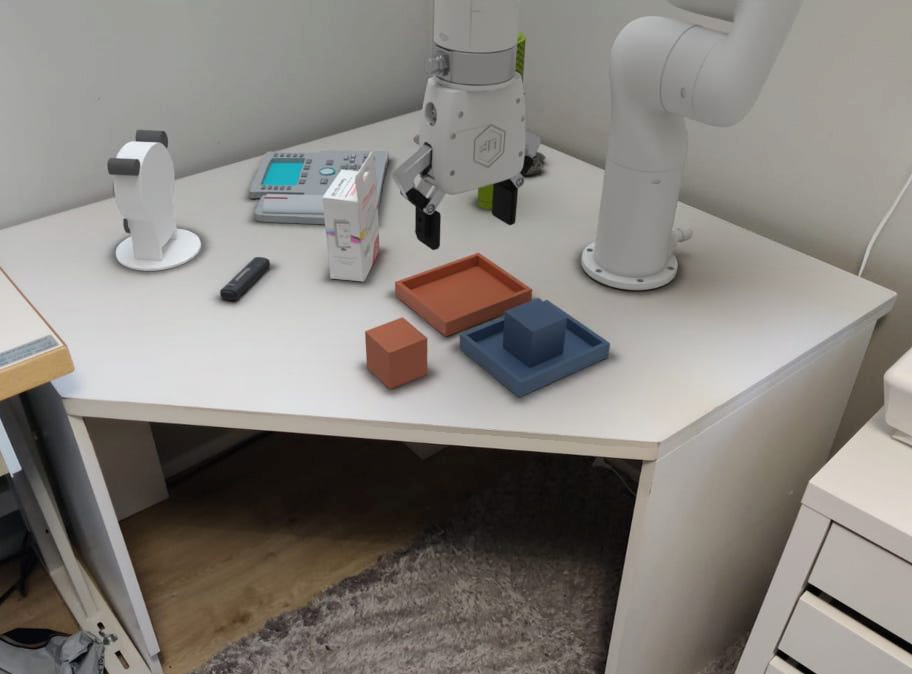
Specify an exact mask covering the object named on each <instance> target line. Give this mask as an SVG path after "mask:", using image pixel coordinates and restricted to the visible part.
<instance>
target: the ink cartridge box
mask: <svg viewBox="0 0 912 674" xmlns="http://www.w3.org/2000/svg"><path fill="white" fill-rule="evenodd" d="M367 169H368V172H365V170H367ZM322 200H323V208H324V218H325V224H324V228H325V237H326V246H327V247H326V248H327V257H328V266H329V278H330V279H332V280H333V279H334V280H343V281H351V282H352V281H353V282H365V281H366V280H367V277H368V275H369V273H370V271H371V269H372V267H373V265H374V264H375V261H376V259H377V257H378V254H379V252H380V249H381V247H380V227H379V225H380V224H379V207H378V202H377V179H376V170H375V163H374V156H373V152H371V153H370V154H369V156H368V157H367V159H366V160H365V162H364V163H363V165H362V166H361V168H360V170H359V171H351V170H341V171H340V172H339V174H338V175H337V177H336V178H335V180H334V181H333V183H332V184H331V186H330V187H329V188H328V190H327V191H326V193H325V194H324V196H323V197H322Z"/></svg>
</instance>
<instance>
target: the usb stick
mask: <svg viewBox="0 0 912 674" xmlns="http://www.w3.org/2000/svg"><path fill="white" fill-rule="evenodd" d="M270 266H271V263H270V260H269V258H267V257H263V256H255V257H253V258H252V259H251V260H250V261H249V263H247V264H246V265H245V266H244V267H243V268H242V269H241V270H240V271H239V272H238V273H237V274H236V275H234V277H232V279H230V280H229V282H228V283H226V284H225V285H224V286H223V287H222V288H221V289H219V290H220V291H219V295H220V297H221V298H222V299H224V300H230V301H235V300H237V299H238V298H240V297H241V295H242V294H243V293H244V292H246V290H248V288H249V287H250V286H252V284H254V282H255V281H257V280H258V279H259V277H260V276H262V275H263V274H264V272H266V271H267V270H268V269H269V267H270Z"/></svg>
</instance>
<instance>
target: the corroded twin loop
mask: <svg viewBox="0 0 912 674" xmlns="http://www.w3.org/2000/svg"><path fill="white" fill-rule="evenodd" d="M544 160H546V155H545V154H543V153H542V152H540V151H537V152H536V155H535V157H533V165H532V166H531V168H530V169H529V171H528V172H527V173H526V175H525V176H529V175H533V174H538V173H540V172H541V171H542V168H543V167H544V164H543V163H544Z"/></svg>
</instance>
